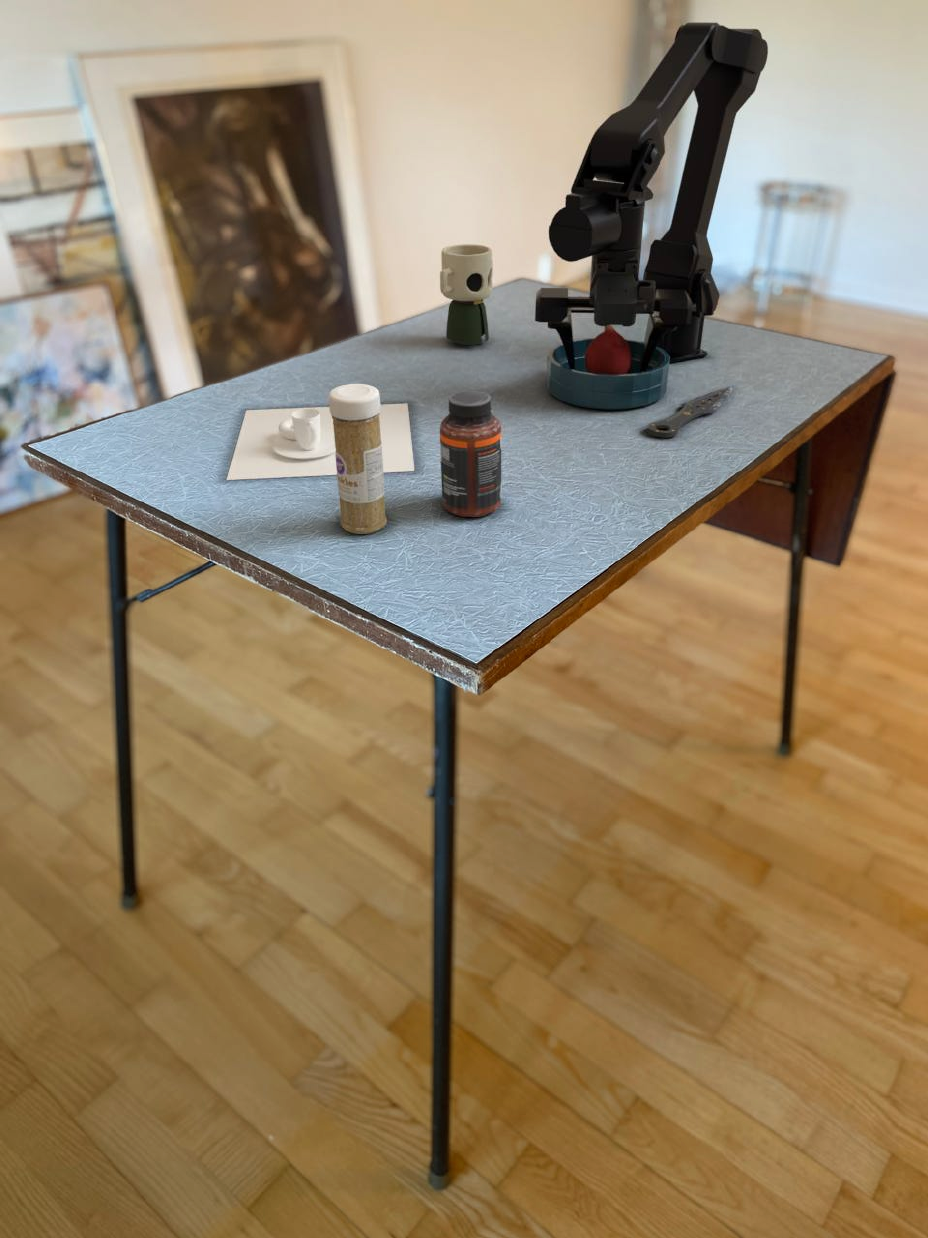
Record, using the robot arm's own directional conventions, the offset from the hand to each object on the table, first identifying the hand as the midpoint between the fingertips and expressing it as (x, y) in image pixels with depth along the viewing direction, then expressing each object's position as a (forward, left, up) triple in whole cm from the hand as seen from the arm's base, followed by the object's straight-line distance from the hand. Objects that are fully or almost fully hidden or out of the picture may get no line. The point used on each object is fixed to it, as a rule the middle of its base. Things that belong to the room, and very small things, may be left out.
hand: (606, 374), depth 119 cm
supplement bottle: (+29, +22, -2) cm, 37 cm away
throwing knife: (-6, +11, -2) cm, 13 cm away
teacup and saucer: (+37, -1, -2) cm, 38 cm away
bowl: (0, 0, -2) cm, 2 cm away
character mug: (+7, -26, -2) cm, 27 cm away
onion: (0, 0, -2) cm, 2 cm away
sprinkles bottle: (+40, +21, -2) cm, 46 cm away
